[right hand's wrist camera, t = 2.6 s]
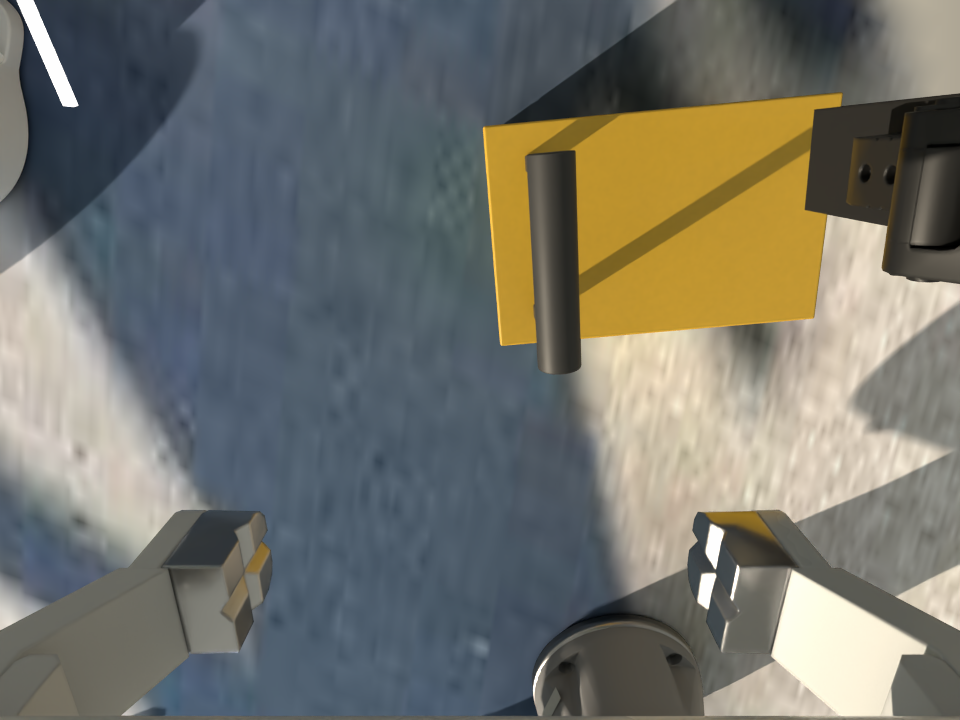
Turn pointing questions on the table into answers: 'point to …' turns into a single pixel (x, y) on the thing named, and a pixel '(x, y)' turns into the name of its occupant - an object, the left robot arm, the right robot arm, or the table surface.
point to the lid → (652, 222)
